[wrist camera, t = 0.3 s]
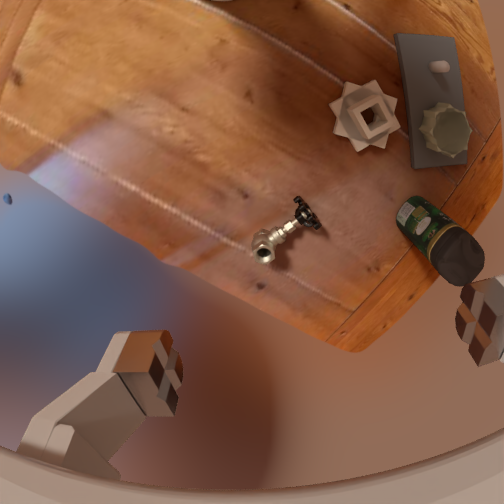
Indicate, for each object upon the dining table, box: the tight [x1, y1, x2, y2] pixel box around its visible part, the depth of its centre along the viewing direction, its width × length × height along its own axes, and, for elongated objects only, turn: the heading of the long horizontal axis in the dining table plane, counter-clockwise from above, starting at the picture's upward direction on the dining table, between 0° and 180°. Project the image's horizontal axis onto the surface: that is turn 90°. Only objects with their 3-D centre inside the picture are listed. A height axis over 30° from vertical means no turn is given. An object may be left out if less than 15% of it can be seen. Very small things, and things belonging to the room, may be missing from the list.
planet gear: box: [328, 80, 401, 152], centre depth 45 cm, size 13×13×5 cm
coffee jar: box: [396, 196, 485, 286], centre depth 47 cm, size 10×8×19 cm
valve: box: [251, 196, 322, 265], centre depth 54 cm, size 7×7×12 cm
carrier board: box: [394, 33, 473, 169], centre depth 42 cm, size 24×12×6 cm, turn 11°
